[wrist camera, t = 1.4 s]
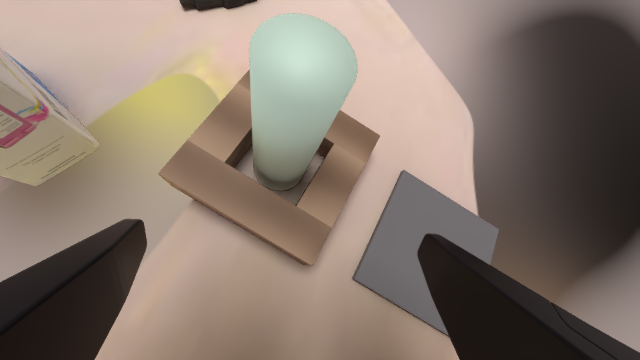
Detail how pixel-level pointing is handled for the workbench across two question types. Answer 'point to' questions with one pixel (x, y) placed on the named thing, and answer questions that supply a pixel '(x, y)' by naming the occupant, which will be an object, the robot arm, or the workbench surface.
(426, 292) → the mat
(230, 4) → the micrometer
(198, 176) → the socket block
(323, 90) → the pin
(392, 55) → the workbench surface
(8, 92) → the ink box
